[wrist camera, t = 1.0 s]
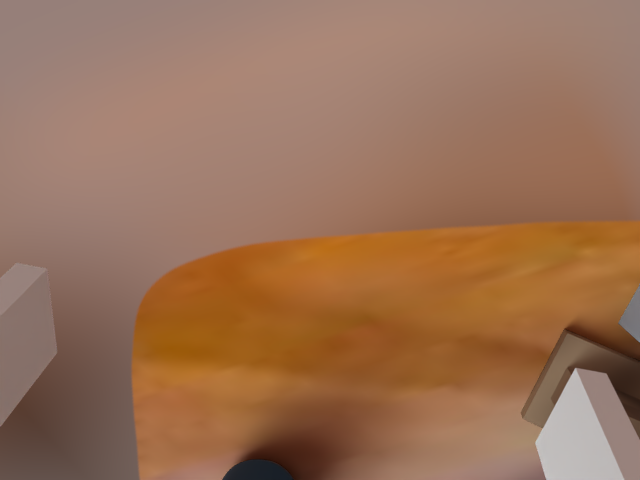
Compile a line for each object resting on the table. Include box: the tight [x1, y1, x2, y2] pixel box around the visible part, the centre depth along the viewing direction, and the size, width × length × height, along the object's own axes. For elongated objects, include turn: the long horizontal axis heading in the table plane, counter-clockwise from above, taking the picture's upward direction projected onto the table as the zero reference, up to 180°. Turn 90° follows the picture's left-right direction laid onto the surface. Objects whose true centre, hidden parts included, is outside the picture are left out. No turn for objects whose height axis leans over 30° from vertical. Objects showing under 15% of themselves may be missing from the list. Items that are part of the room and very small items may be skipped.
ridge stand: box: [521, 329, 640, 439], centre depth 36 cm, size 10×7×6 cm
